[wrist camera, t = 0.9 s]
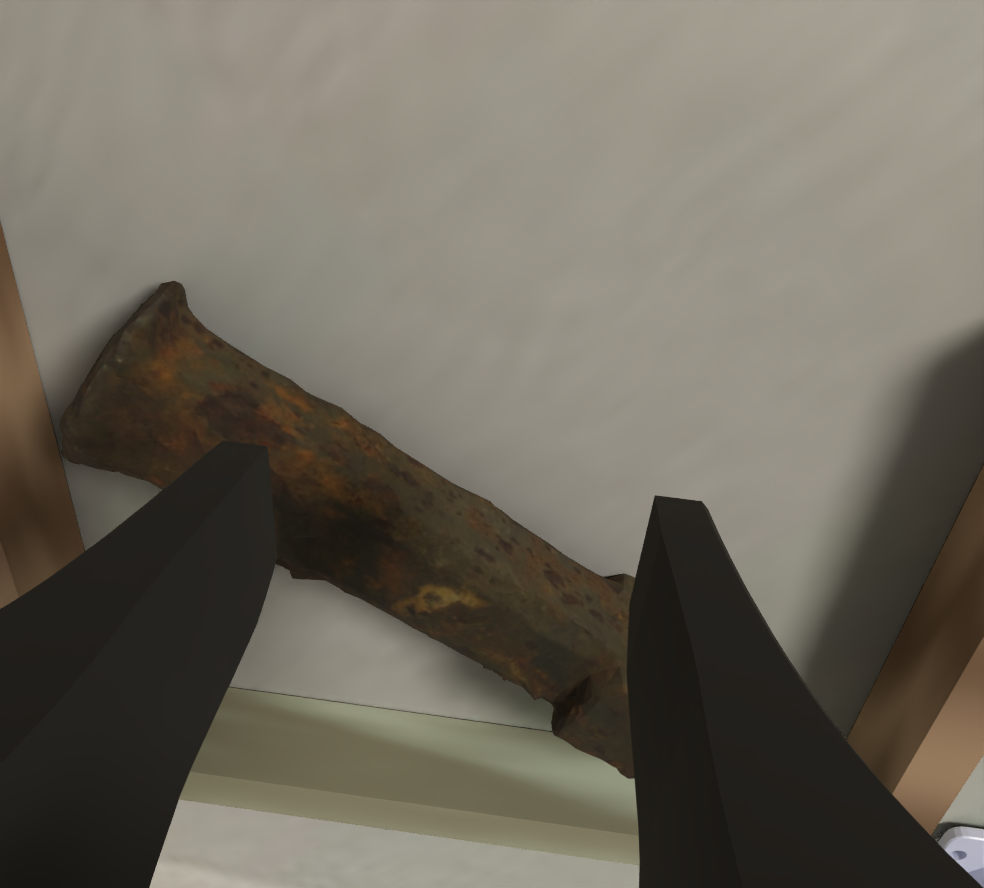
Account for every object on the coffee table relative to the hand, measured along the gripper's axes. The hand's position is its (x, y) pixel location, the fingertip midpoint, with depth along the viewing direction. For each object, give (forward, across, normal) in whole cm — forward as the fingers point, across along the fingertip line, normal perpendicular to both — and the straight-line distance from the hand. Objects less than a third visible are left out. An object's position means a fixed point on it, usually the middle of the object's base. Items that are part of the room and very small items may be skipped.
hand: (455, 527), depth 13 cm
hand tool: (+9, 0, +7) cm, 11 cm away
